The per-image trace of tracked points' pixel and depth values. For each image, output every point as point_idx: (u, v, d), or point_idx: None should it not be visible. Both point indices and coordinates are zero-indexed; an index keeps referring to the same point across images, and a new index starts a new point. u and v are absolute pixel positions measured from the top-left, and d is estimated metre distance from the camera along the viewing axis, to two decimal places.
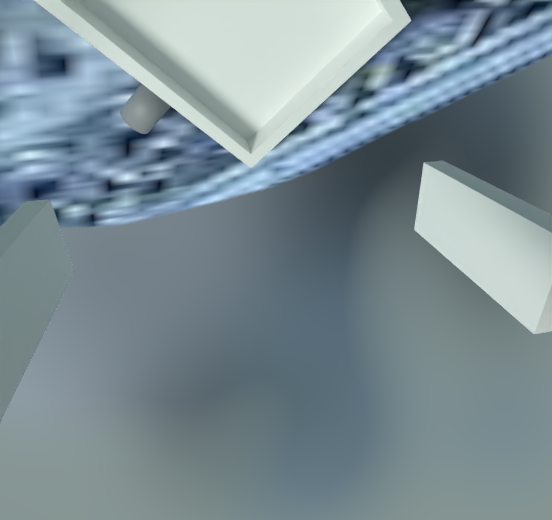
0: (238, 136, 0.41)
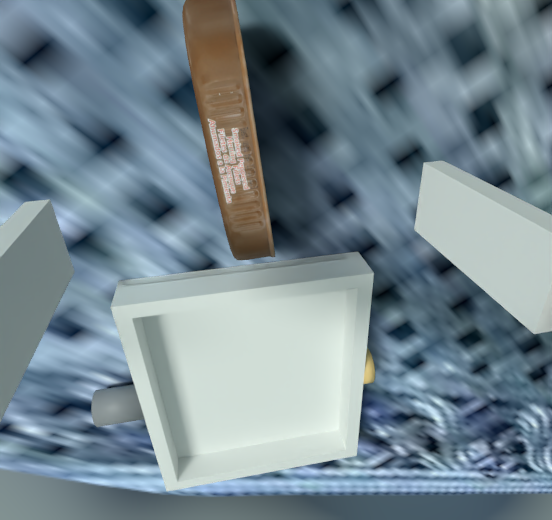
0: (175, 455, 0.40)
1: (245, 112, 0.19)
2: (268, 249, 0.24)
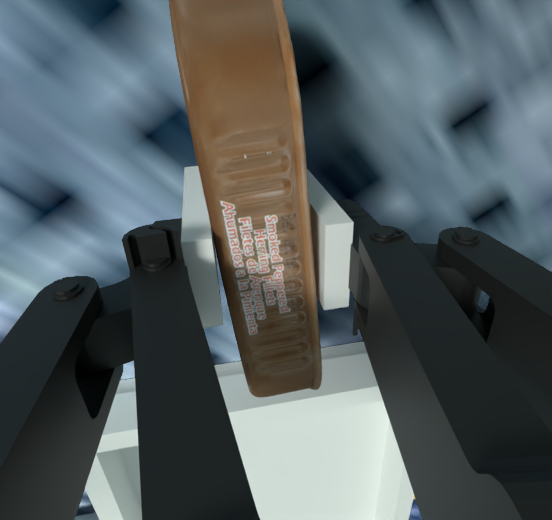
0: None
1: (293, 188, 0.10)
2: (310, 387, 0.15)
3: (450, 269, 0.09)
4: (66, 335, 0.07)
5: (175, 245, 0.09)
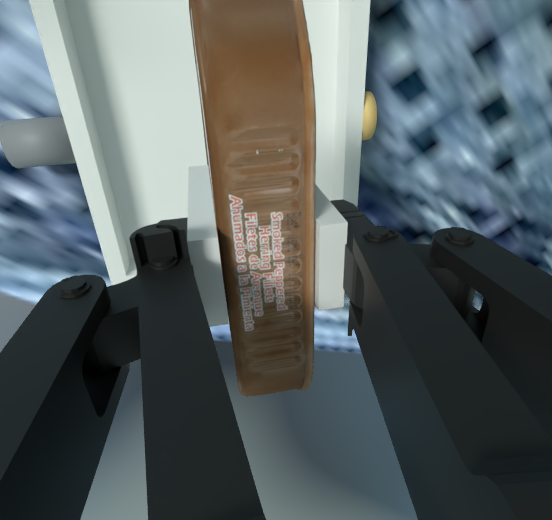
0: (125, 248, 0.32)
1: (300, 186, 0.10)
2: (299, 387, 0.15)
3: (444, 269, 0.09)
4: (74, 333, 0.07)
5: (182, 244, 0.09)
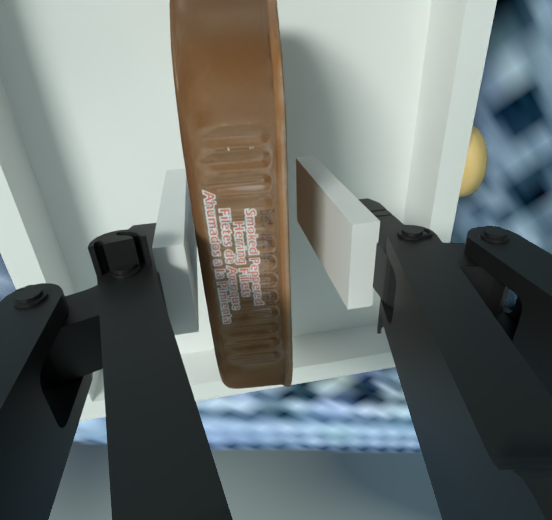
0: None
1: (273, 184, 0.10)
2: (282, 383, 0.15)
3: (480, 268, 0.09)
4: (30, 343, 0.07)
5: (144, 251, 0.09)
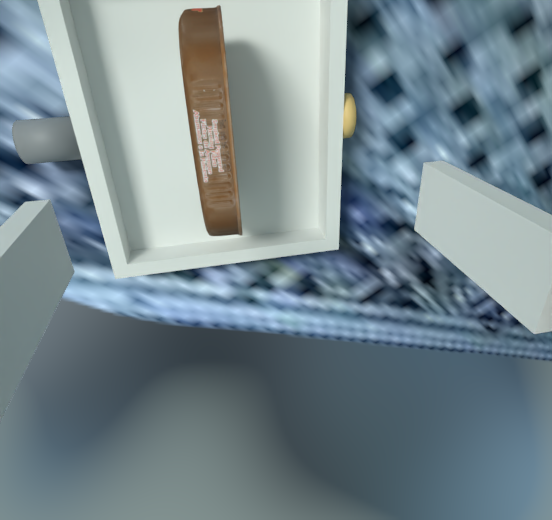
0: (126, 239, 0.34)
1: (224, 107, 0.23)
2: (236, 226, 0.28)
3: None
4: None
5: None
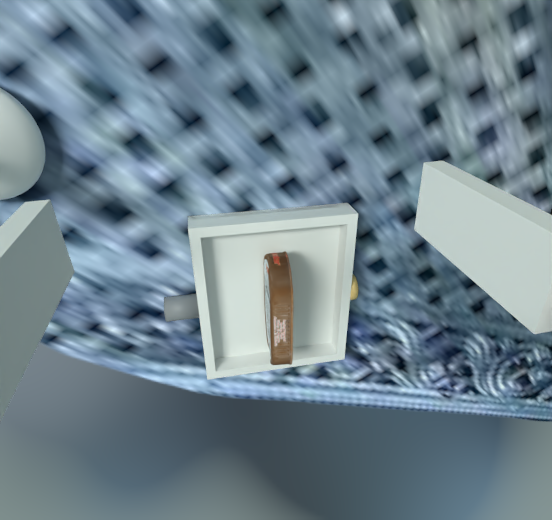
0: None
1: (290, 314, 0.44)
2: (289, 363, 0.49)
3: None
4: None
5: None
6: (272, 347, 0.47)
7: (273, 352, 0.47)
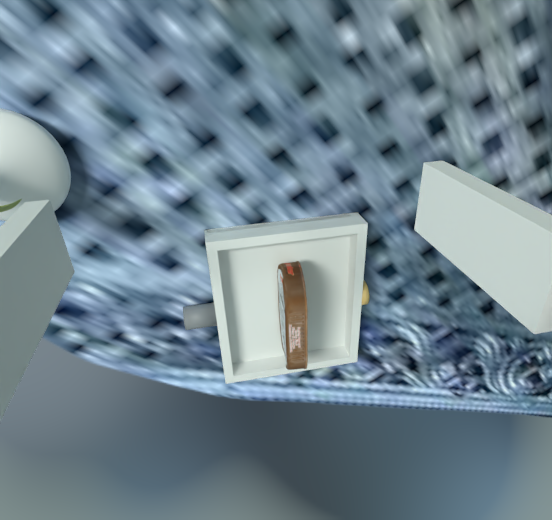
0: (231, 359, 0.57)
1: (304, 322, 0.46)
2: (304, 367, 0.51)
3: None
4: None
5: None
6: (288, 353, 0.49)
7: (289, 358, 0.49)
